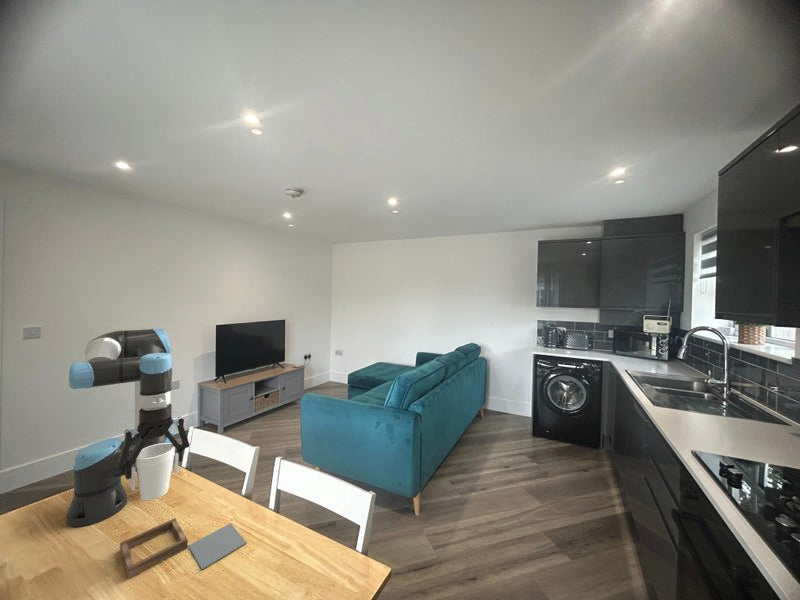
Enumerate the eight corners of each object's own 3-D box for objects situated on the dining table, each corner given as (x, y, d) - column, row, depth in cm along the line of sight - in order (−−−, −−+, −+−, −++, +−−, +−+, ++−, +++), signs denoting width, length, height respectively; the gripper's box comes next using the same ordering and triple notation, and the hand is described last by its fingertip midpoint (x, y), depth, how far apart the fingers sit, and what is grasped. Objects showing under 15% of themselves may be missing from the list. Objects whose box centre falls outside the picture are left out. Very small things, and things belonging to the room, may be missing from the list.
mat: (188, 546, 91) (188, 545, 91) (230, 524, 100) (230, 523, 100) (201, 570, 84) (202, 569, 84) (246, 543, 93) (246, 542, 93)
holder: (120, 551, 89) (120, 542, 89) (175, 525, 99) (175, 517, 99) (128, 579, 81) (128, 569, 81) (187, 547, 91) (187, 539, 91)
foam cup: (151, 506, 84) (151, 461, 84) (125, 501, 86) (125, 456, 86) (182, 486, 94) (182, 444, 93) (157, 481, 95) (158, 441, 95)
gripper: (106, 420, 79) (105, 505, 79) (202, 399, 96) (201, 469, 96) (102, 413, 83) (101, 492, 84) (194, 394, 100) (194, 460, 101)
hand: (155, 479), depth 90 cm, fingers closed on foam cup, 9 cm apart
